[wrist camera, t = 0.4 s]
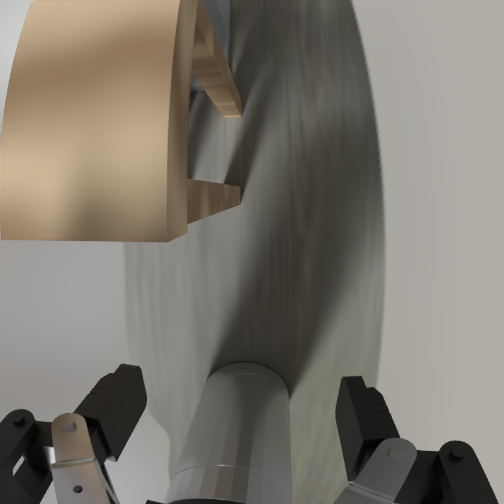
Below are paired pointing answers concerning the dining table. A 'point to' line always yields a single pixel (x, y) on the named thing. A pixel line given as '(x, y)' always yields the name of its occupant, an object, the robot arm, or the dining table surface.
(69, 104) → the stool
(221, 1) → the stand
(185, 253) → the dining table surface
